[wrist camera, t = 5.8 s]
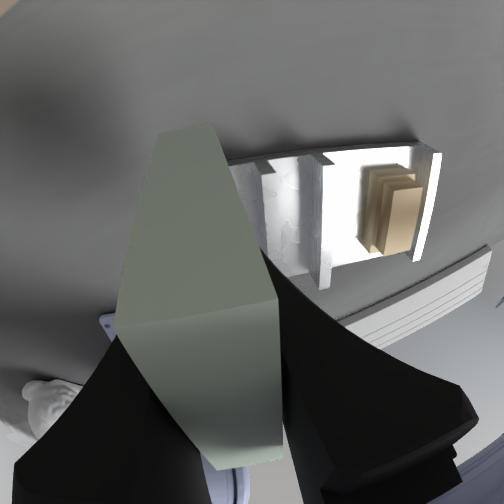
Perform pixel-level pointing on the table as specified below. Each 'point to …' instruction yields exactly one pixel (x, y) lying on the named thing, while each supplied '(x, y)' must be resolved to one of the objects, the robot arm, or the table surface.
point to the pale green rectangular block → (203, 304)
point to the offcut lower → (379, 201)
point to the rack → (326, 202)
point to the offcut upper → (398, 216)
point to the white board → (421, 302)
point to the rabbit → (47, 402)
